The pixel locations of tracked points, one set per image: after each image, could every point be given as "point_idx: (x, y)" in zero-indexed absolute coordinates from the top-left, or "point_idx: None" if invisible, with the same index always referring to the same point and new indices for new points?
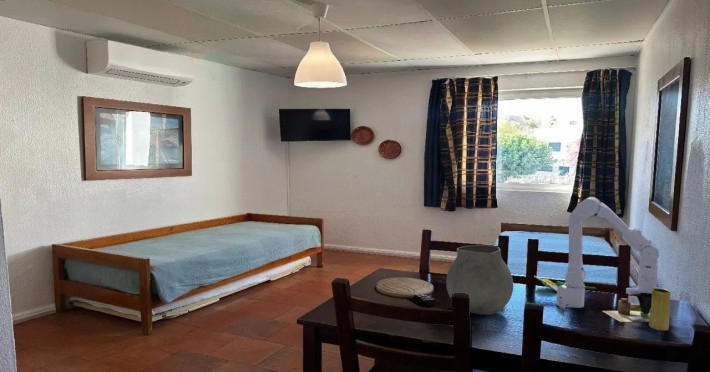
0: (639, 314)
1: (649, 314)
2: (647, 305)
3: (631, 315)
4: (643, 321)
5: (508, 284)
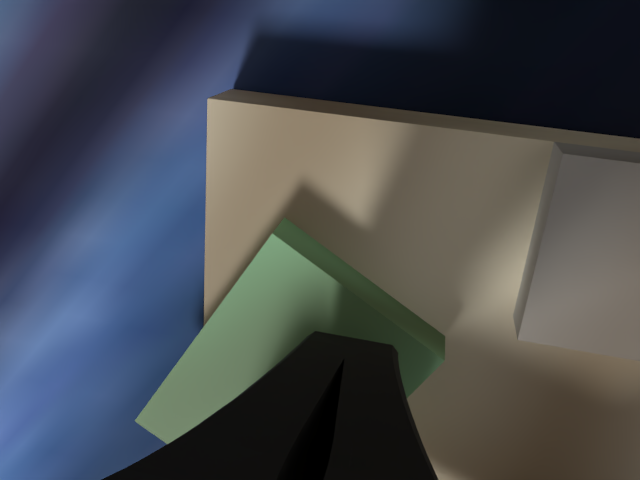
0: None
1: (219, 375)
2: (360, 470)
3: (542, 470)
4: (613, 149)
5: None
